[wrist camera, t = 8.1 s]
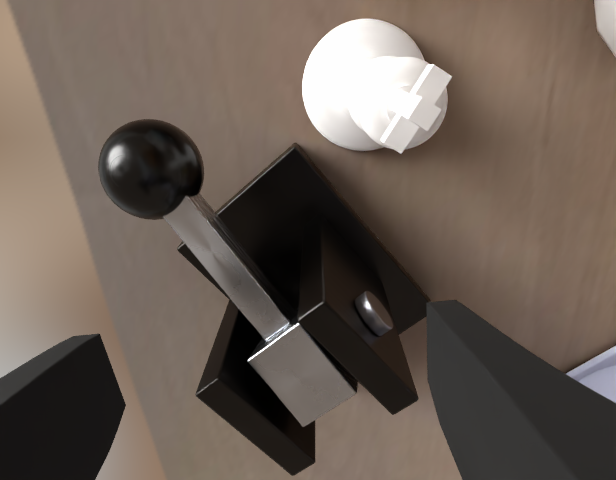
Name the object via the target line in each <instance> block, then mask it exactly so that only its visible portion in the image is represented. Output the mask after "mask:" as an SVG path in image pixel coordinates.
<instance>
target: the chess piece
mask: <svg viewBox="0 0 616 480" xmlns="http://www.w3.org/2000/svg"><path fill="white" fill-rule="evenodd" d="M451 78H452V76H451V75H449V74H448V73H446V72H445V71H443V70H442V69H440V68H439V67H437V66H436V65H434V64H429V63H428V62H426V61H424V58H423V55H422V53H421V51H420V49H419V48H418V46H417V44H416V43H415V42H414V41H413V39H412V38H411V37H410V36H409V35H408V34H407V33H405V32H404V31H403V30H401V29H400V28H398V27H396V26H395V25H393V24H390V23H388V22H385V21H382V20H377V19H358V20H353V21H350V22H347V23H344V24H342V25H340V26H338V27H336V28H335V29H333V30H332V31H330V32H329V33H328V34H327V35H325V36H324V37H323V38H322V39H321V41H320V42H319V43H318V44H317V45H316V47H315V48H314V50H313V51H312V53H311V55H310V57H309V59H308V61H307V64H306V67H305V71H304V75H303V84H302V92H303V100H304V105H305V108H306V111H307V114H308V116H309V118H310V120H311V122H312V123H313V125H314V126H315V128H316V129H317V130H318V131H319V132H320V133H321V134H322V135H323V136H324V137H325V138H326V139H328V140H329V141H331V142H332V143H334V144H336V145H338V146H341V147H343V148H347V149H350V150H356V151H369V150H375V149H379V148H383V147H386V148H390V149H394V150H395V151H397V152H399V153H400V154H402V152H403V151H404V149H409V148H413V147H416V146H418V145H420V144H422V143H424V142H425V141H427V140H428V139H429V138H430V137H431V136H432V135H433V134H434V133H435V132H436V131H437V130H438V128H439V127H440V125H441V123H442V121H443V119H444V117H445V114H446V110H447V103H448V96H447V89H446V86H447V84H448V83H449V81H450V80H451Z"/></svg>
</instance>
